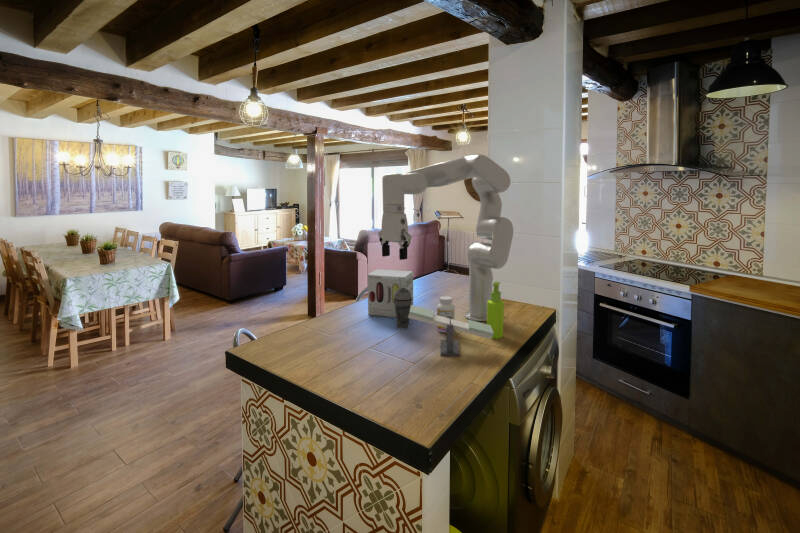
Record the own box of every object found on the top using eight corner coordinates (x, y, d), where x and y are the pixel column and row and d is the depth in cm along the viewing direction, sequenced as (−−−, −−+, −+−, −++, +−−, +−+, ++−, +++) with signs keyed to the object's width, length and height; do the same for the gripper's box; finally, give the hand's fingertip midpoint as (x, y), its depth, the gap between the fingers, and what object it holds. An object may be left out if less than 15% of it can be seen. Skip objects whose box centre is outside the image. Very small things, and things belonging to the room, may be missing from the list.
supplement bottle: (442, 326, 162) (442, 294, 160) (457, 329, 158) (458, 297, 156) (433, 331, 157) (434, 298, 154) (449, 334, 153) (449, 301, 151)
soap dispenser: (503, 333, 154) (505, 281, 150) (501, 339, 147) (503, 285, 144) (487, 331, 156) (489, 280, 152) (485, 337, 149) (486, 284, 146)
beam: (488, 332, 141) (490, 325, 140) (491, 340, 133) (493, 333, 133) (409, 311, 142) (411, 304, 142) (407, 318, 134) (409, 311, 134)
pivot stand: (457, 342, 145) (458, 315, 143) (459, 356, 133) (459, 326, 131) (440, 342, 145) (440, 315, 143) (440, 355, 134) (440, 326, 132)
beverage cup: (410, 330, 158) (410, 279, 154) (391, 329, 159) (391, 278, 156) (413, 324, 165) (413, 275, 161) (395, 323, 166) (395, 274, 163)
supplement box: (367, 315, 177) (366, 274, 174) (377, 307, 190) (377, 268, 186) (405, 319, 172) (405, 276, 169) (414, 310, 185) (414, 270, 181)
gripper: (418, 209, 140) (418, 259, 143) (386, 208, 153) (387, 253, 156) (401, 210, 135) (402, 262, 138) (370, 209, 148) (371, 256, 151)
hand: (394, 257), depth 147 cm, fingers open, 9 cm apart
